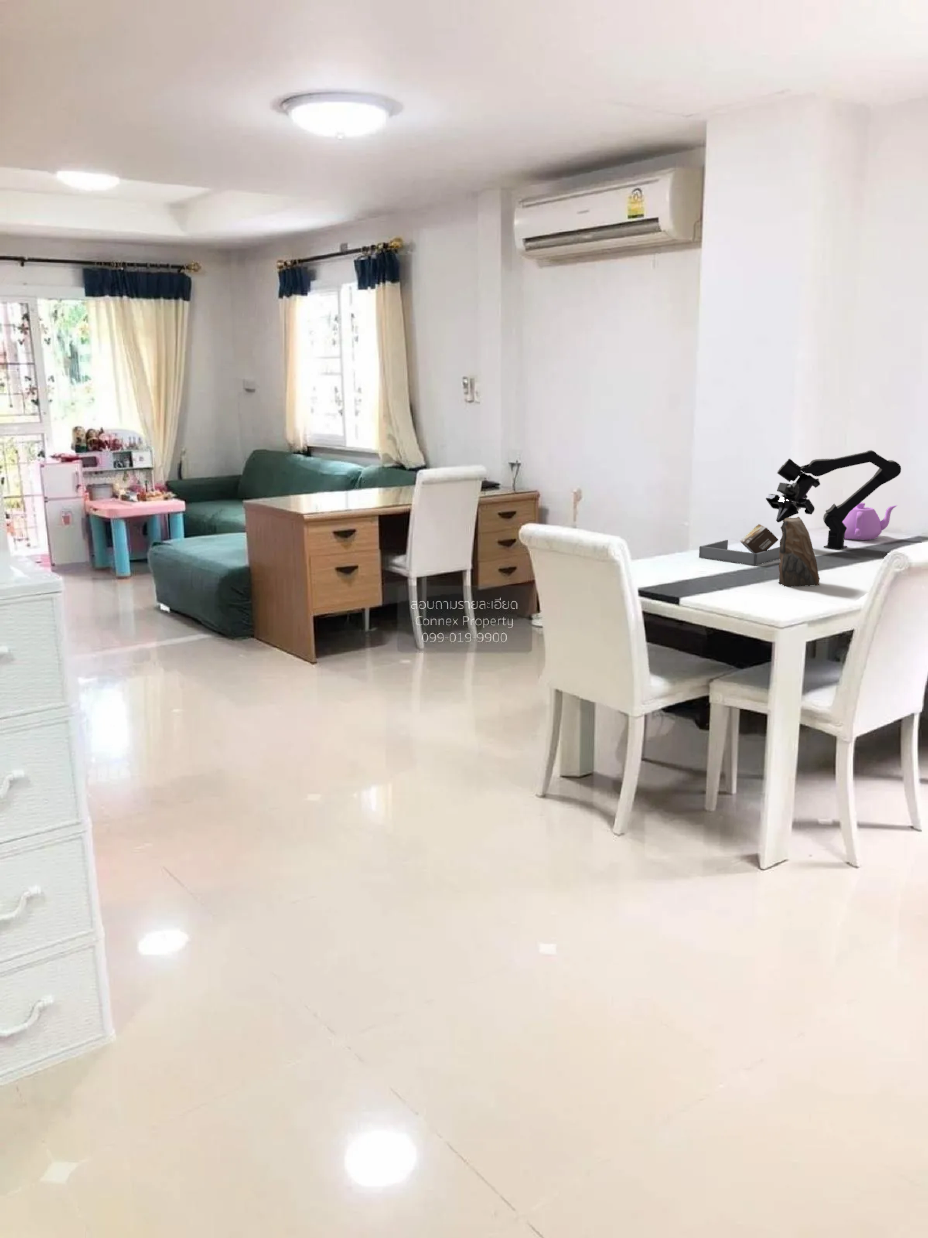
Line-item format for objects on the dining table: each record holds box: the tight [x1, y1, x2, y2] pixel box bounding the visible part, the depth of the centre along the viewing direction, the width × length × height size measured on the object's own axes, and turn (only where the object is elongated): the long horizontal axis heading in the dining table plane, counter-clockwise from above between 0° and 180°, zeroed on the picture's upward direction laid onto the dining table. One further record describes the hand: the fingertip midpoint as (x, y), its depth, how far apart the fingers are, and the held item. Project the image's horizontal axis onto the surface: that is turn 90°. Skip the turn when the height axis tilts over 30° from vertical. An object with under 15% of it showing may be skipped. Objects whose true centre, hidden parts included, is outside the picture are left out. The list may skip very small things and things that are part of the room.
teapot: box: [843, 502, 898, 541], centre depth 379 cm, size 22×22×14 cm
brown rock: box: [777, 516, 820, 588], centre depth 304 cm, size 13×13×20 cm
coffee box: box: [739, 523, 779, 554], centre depth 345 cm, size 9×6×16 cm
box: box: [698, 539, 780, 567], centre depth 344 cm, size 18×22×4 cm
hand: (777, 521), depth 356 cm, fingers closed
